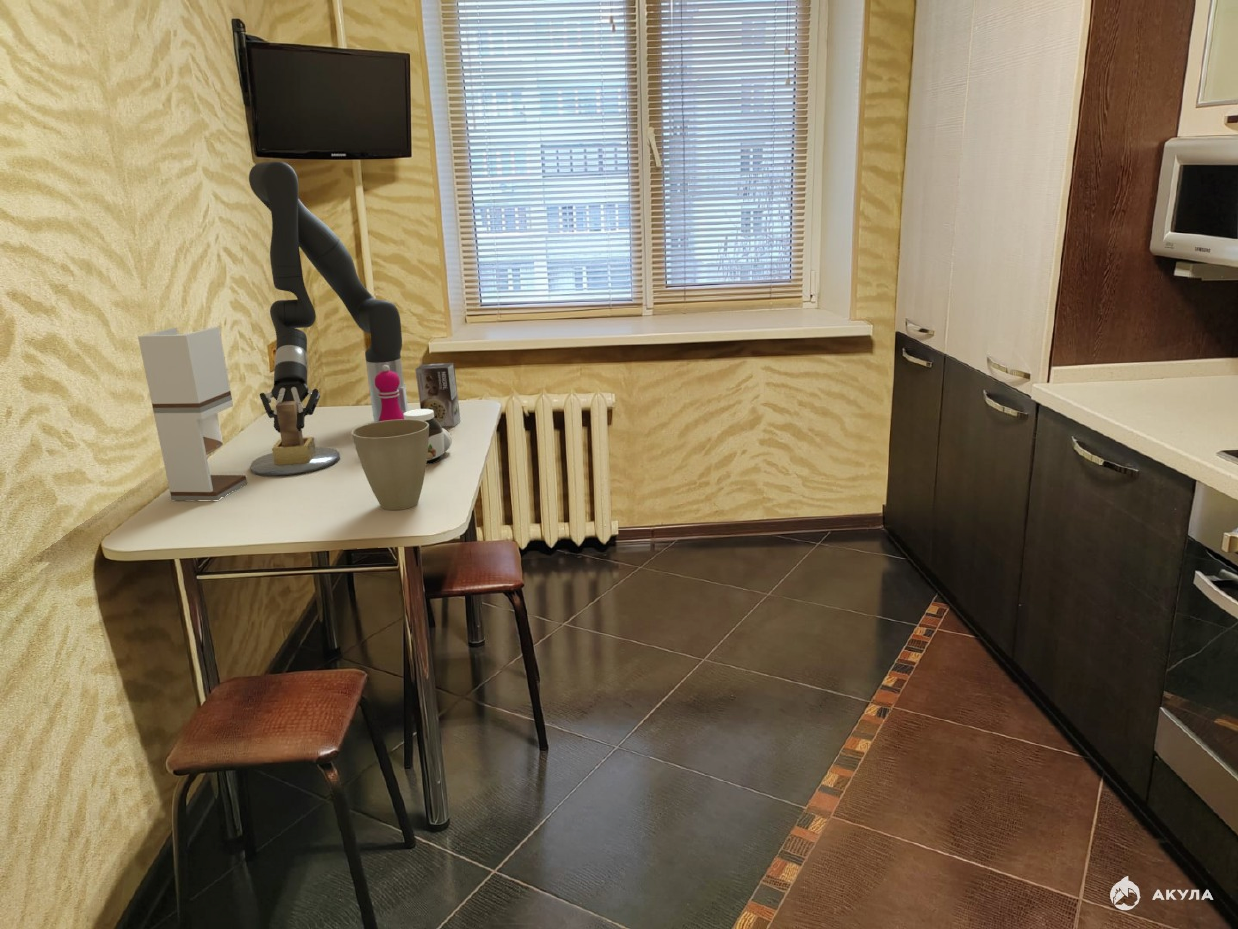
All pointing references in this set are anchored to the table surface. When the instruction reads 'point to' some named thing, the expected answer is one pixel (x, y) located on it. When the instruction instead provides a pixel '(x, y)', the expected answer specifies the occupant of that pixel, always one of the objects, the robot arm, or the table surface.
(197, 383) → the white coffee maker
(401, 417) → the pepper mill
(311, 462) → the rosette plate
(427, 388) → the coffee box
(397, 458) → the plant pot
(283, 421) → the tall tan wooden block
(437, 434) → the spread jar
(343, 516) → the table surface
